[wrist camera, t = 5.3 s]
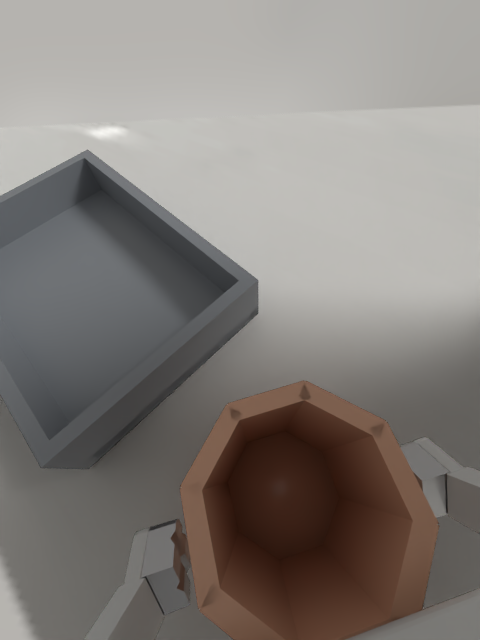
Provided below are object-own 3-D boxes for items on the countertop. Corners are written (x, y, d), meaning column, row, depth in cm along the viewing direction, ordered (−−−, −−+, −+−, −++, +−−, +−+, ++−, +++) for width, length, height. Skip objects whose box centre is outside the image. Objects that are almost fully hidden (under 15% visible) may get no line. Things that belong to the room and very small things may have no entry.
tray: (-34, 275, 24) (-85, 241, 20) (109, 190, 28) (87, 149, 24) (88, 468, 16) (41, 468, 13) (258, 313, 20) (258, 280, 17)
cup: (209, 444, 16) (169, 420, 9) (314, 411, 17) (358, 364, 9) (239, 585, 13) (216, 728, 6) (365, 541, 14) (488, 621, 6)
